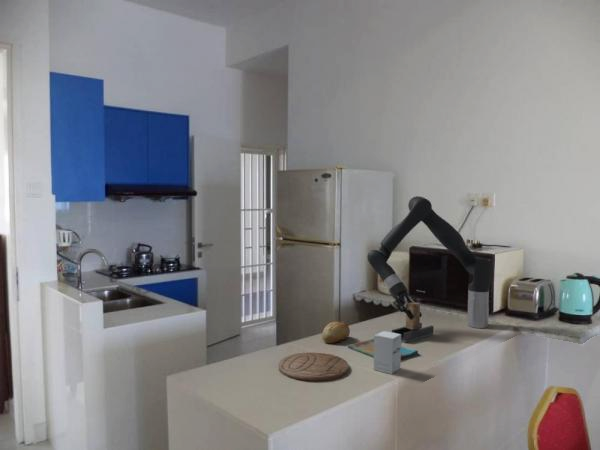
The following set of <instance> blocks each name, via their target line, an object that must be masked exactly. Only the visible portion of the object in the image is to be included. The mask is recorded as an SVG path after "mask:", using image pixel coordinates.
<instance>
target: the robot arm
mask: <svg viewBox="0 0 600 450" xmlns="http://www.w3.org/2000/svg"><path fill="white" fill-rule="evenodd" d="M407 205H408V211H409V212H408V213H407V215H406V216H405V218H404V219H402V221H400V222H399V223H397V225H396V226H394V227H393V228H392V229H391V230H390V231H389V232H388V233H387V234H386V235H385V236H384V237H383V239H382V240H381V242H380V247H379V249H372V250H370V251H369V252H368V253H367V256H366V257H367V261H368V263H369V264H370V265H371V267H372V268H373V270H375V271H376V273H377V274H378V276H379V277H380V279H381V281H382V283H384V286H385V288H386V289H387V290H388V293H389V294H390V295H391V297H392V298H393V299H394V300H393V301H392V303H393V305H394V306H395V307H396V308H397V309H398V310H399V312H400V313H404V314H405V315H406V314H407V316H408V317H409V318H410V320H412V319H413V318H414V315H413V314H412V313H411V311H410V310H409V308H408V306H407V303H410V302H417V303H419V300H418V299H417V297H416V295H412V296H411V295H410V294H409V290H408V287H407V286H406V285H405V284H404V282H403V280H402V279H401V277H400V276H398V274H397V273H396V271H395V269H394V268H393V267H392V266H391V265H390V264H389V263H388V260H389V259H390V257H391V255H392V253H393V251H395V249H396V248H397V247H398V246H399V244H400V243H401V242H402V241H403V240H404V239H405V238H406V236H407V235H408V234H409V233H410V232H411V231H412V230H413V229H414V228H415V227H416V226H418V224H420V223H421V222H422V223H423V224H424V225H425V226H426V228H427V229H428V230H430V232H431V233H432V235H433V236H434V237H435V238H436V240H437V241H439V242H440V244H441V245H442V246H443V247H444V248H446V250H448V252H450V253H451V254H452V255H453V256H454V257H455V258H456V259H457V260H458V261H459V262H460V264H461V265H462V266H463V267H464V269H465V270H466V271H467V272H468V273H469V274H470V275H472V276H473V277H472V282H471V283H469V284H468V289H467V290H468V292H467V293H468V294H467V297H468V298H467V323H466V324H467V326H468V327H470V328H471V327H472V328H477V329H486V328H488V326H489V312H490V308H489V307H490V306H489V299H490V298H489V297H490V296H489V294H490V293H489V292H490V291H489V290H490V287H491V284H492V276H493V275H492V274H493V272H492V271H493V267H492V263H491V261H490V260H489V259H487V258H484V257H481V256H480V257H479V256H478V255H476V254H475V253H473V251H471V250H470V249H469V247H468V245H466V243H465V239H464V238H463V236H462V235H461V234H460V233H459V231H458V230H457V229H456V228H455V227H454V226H452V224H450V223H449V222H448V221H446V220H445V219H443V217H441V216H440V215H438V214H437V213H436V212H435V210H434V209H433V207H432V202H431V201H430V200H429V199H427V198H425V197H424V196H419V195H418V196H414V197H412V198H410V199H409V201H408V204H407ZM421 317H423V315H422V312H421V311H420V318H421Z"/></svg>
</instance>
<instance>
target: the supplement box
mask: <svg viewBox="0 0 600 450" xmlns="http://www.w3.org/2000/svg"><path fill="white" fill-rule="evenodd" d="M373 339H374V358H373V370H374V371H379V372H382V373H385V374H390V375H392V374H393V373H395V372H397V371H399V369H401V364H402V363H401V361H402V360H401V347H402V342H401V334H397V333H392V331H386V330H383V331H381V332H379V333H376V334H375V335H374V338H373Z"/></svg>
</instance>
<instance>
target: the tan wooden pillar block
mask: <svg viewBox="0 0 600 450" xmlns="http://www.w3.org/2000/svg"><path fill="white" fill-rule="evenodd" d="M407 306H408V308H409V310H410V311H411V313H412V314H413V315H414V318H413V319H412V320H410V318H409V317H408V316H407V314H406V313H405V326H406V328H408V329H412V330H413V329H417V328H419V324H420V323H421V321H420V319H421V317H420V312H421V303H420V302H418V303H417V302H410V303H407Z"/></svg>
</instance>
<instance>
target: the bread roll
mask: <svg viewBox="0 0 600 450" xmlns="http://www.w3.org/2000/svg"><path fill="white" fill-rule="evenodd" d="M350 330H351V329H350V327H349V325H348V323H346V322H342V321H332V322H329V323H328V324H327V325H325V327H324V329H323V330H322V340H323V342H325V343H326V344H334V343H338V342H340V341H342V340H344V339H348V337H349V336H350V333H351V331H350Z"/></svg>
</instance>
